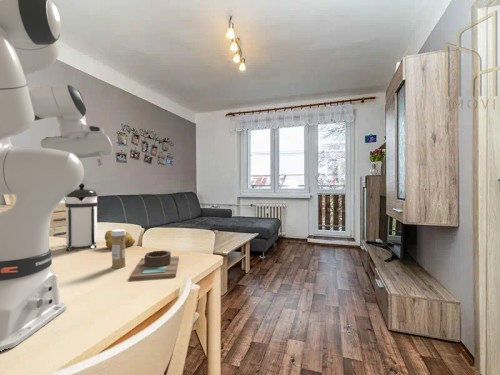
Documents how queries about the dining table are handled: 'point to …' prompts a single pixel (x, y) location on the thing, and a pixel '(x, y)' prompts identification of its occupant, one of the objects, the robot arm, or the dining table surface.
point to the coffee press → (81, 218)
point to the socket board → (156, 266)
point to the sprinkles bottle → (118, 248)
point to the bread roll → (128, 239)
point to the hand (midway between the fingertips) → (85, 166)
